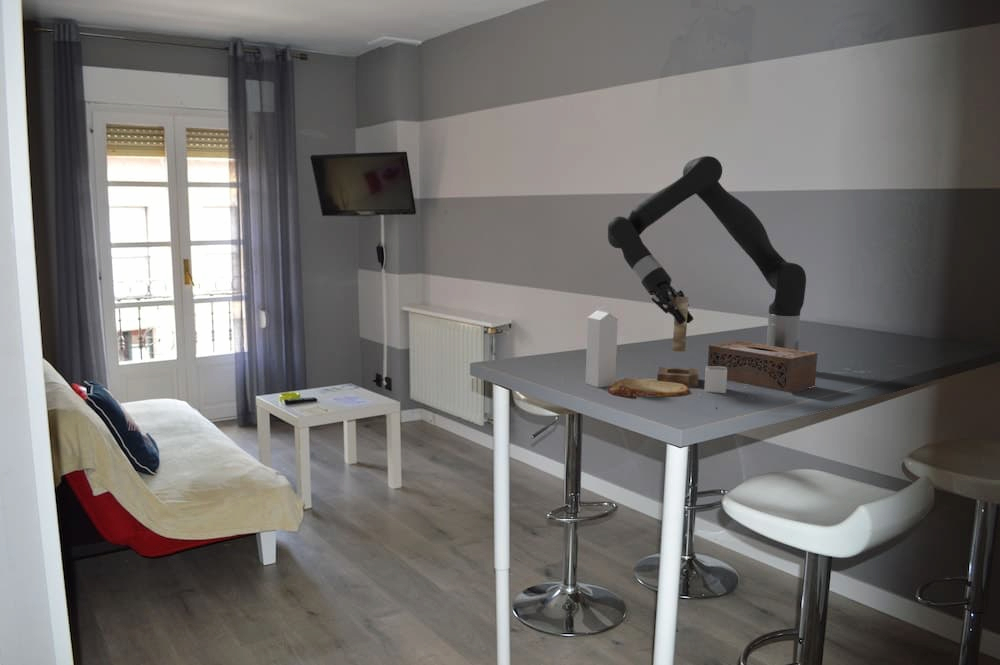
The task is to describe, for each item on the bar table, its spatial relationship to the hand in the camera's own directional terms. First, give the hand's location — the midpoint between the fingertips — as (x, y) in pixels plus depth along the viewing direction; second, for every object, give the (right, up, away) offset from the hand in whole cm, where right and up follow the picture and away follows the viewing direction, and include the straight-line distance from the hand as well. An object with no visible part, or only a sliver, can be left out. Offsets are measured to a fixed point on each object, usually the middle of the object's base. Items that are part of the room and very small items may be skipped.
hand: (686, 321), depth 221 cm
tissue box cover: (+23, -18, +8) cm, 30 cm away
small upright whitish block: (+6, -19, -6) cm, 21 cm away
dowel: (-2, -8, +3) cm, 9 cm away
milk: (-24, -18, +1) cm, 30 cm away
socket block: (-2, -17, +4) cm, 18 cm away
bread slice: (-12, -20, -8) cm, 25 cm away
